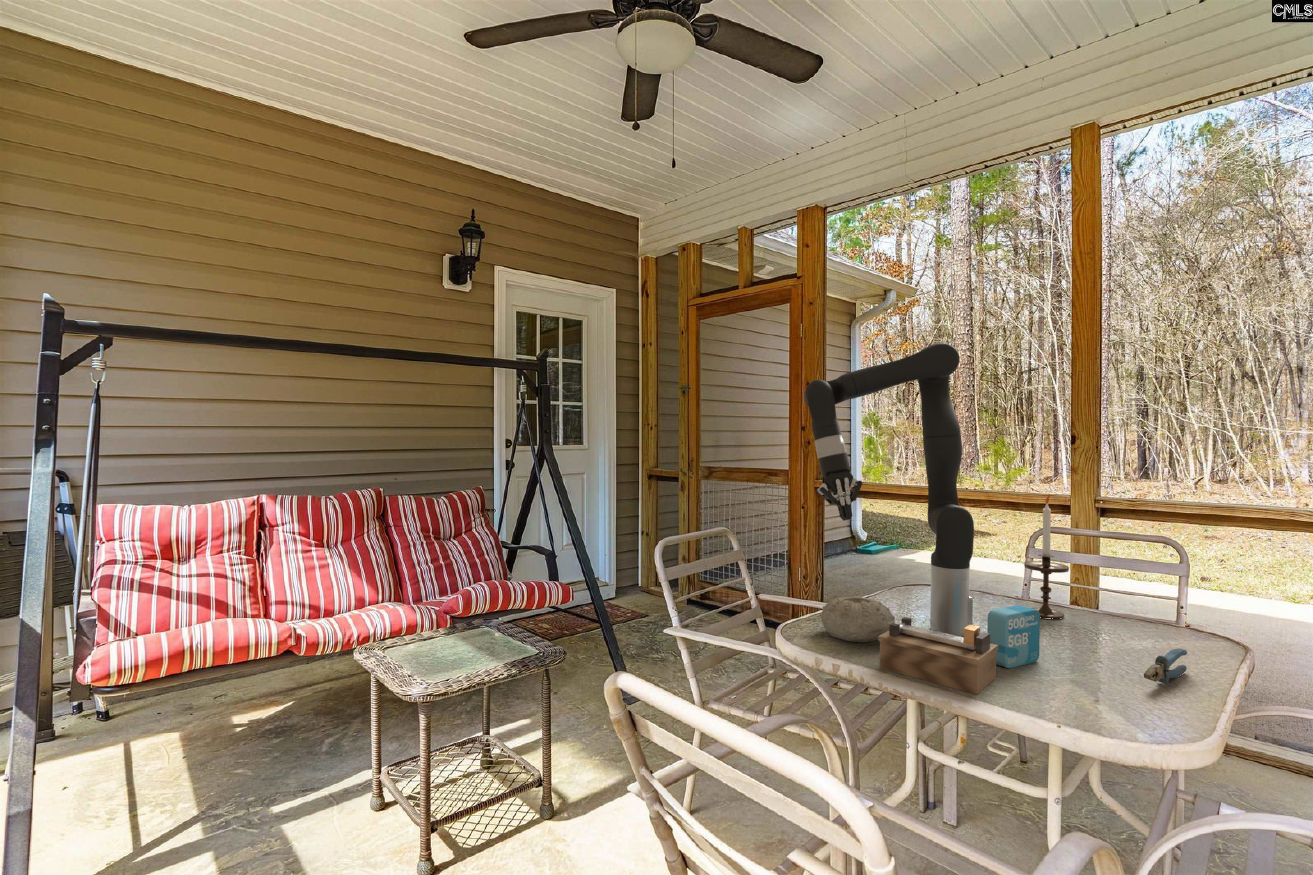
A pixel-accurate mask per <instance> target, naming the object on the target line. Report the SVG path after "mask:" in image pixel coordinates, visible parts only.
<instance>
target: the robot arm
mask: <svg viewBox="0 0 1313 875" xmlns="http://www.w3.org/2000/svg"><path fill="white" fill-rule="evenodd" d="M960 360H961V359H960V353H959V352H958V350H957V348H955V347H954V346H953V345H951V344H949V343H946V342H936V343H932V344H930V345H927V346H925V347H924V348H922V349H921V350H920V351H918V352H916V353H913V354H912V355H908V356H905V357H903V358H899V359H897V360H896V359H895V360H893V361H889V362H885V363H881V364H876V365H872V366H869V367H865V368H861V369H857V370H853V371H849V372H846V373H844V374H841V375H840V376H839V377H837V378H835V379H832V380H831V379H830V380H828V381H826V380H823V379H814V380H812V381H810V382H809V383H808V385H807V386H806V387H805V391H804V393H803V394H804V395H803V399H804V403H805V404H806V406H807V407H808V410H809V414H810V417H811V430H812V434H813V439H814V443H815V451H816V456H817V460H818V466H819V469H820V474H821V476H822V480H821V482H822V484H821V485H820V486H819V487H817V488H816V493H817V494H819V496H821V498H823V499H824V500H825V501H826V502H827V503H828V504H829V505H830V506H836V507H837V509H838V513H839V518H840V519H842V521H849V520H852V517H853V512H852V507H851V503H852V502H855V501H857V498H858V496H859V493H860V490H861V488H862V485H863V481H862V480H857V479H856V478H854V475H853V473H852V472H851V465H850V460H849V457H848V452H847V448H846V443H845V441H844V438H843V436H842V431H841V426H840V424H839V420H838V416H837V410H836V405H838V404H841V403H843V402H845V401H848V400H854V399H857V398H861V397H865V396H869V395H871V394H872V395H873V394H874V393H877V392H881V391H883V390H887V389H889V388H891V387H894V386H898V385H902V384H905V383H909V382H912V381H917V384H918V388H919V393H920V401H921V404H920V406H921V425H922V426H921V427H922V428H921V429H922V430H921V431H922V442H923V443H922V444H923V453H924V454H923V455H924V461H925V471H926V473H925V474H926V480H927V491H928V493H927V494H928V495H927V524H928V526H929V528H930V530H931V531H932V532H933V534H935V535H936V536H935V548H934V551H932V553H931V555H930V603H929V604H930V606H929V607H930V609H929V610H930V611H929V613H930V614H929V617H930V618H929V624H930V625H929V627H930V628H929V630H933V631H938V632H942V633H947V634H951V635H955V636H960V637H964V628H965V627H967V626H968V625H974V623H973V622H974V621H973V618H974V617H973V615H974V614H973V613H974V612H973V610H974V608H973V607H974V606H973V605H974V604H973V603H974V602H973V601H974V598H973V597H972V596H971V595H970V582H971V581H970V576H971V574H970V573H971V572H970V568H971V567H970V566H971V564H970V563H971V560H972V557H973V554H974V543H975V541H974V539H975V537H974V536H975V523H974V522H975V521H974V518H973V516H972V514H971V513H970V511H969V510H968V509H967V508H965V507H963V506H960V501H959V495H958V486H957V484H958V483H957V482H958V476H959V471H960V467H961V462H962V458H963V442H962V441H963V440H962V433H961V426H960V423H959V419H958V416H957V413H956V412H955V409H954V406H953V403H952V400H951V395H950V393H951V392H950V376H951V375H952V374H953V373H954V372H955V371H956V370H957V369H958V367H959V364H960Z"/></svg>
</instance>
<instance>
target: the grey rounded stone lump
mask: <svg viewBox="0 0 1313 875" xmlns="http://www.w3.org/2000/svg"><path fill="white" fill-rule="evenodd" d="M820 620H821V623H822V625H823V628H824V629H825V631H826V632H828V634H829V635H831V637H833V638H836V639H839V640H844V641H848V642H851V643H871V642H872V643H873V641H878V636H879V635H881V634H883V633H885V632H887V631H889V625H890V624H891V623H895V624H896V616H894V615H893V613H892V612H891V610H890V608H889V607H887V606H886V605H885V604H883V603H882V602H880V601H879V600H876V599H874V598H873V599H870V598H868V597H864V596H857V595H856V596H849V597H845V596H844V597H839V596H838V597H835V598H832V599H831V600H829V601H828V602H827V603H826V604H825V605H823V606H822V611H821V614H820Z"/></svg>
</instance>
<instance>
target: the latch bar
mask: <svg viewBox="0 0 1313 875" xmlns="http://www.w3.org/2000/svg"><path fill="white" fill-rule="evenodd" d="M900 632H901V633H905V634H909V635H913V636H917V637H922V638H926V639H930V640H934V641H938V642H942V643H947V644H951V645H955V646H959V647H963V648H967V649H972V650H975V649H976V637H978V636H979V635H980V634H981V626H979V625H974V624H973V625H968V626H967V627H965V628H964V636H955V635H951V634H947V633H942V632H938V631H933V630H931V629H930V628H924V627H920V626H916V625H912V624H911V625H907V624H906V623H902V622H901V623H900Z"/></svg>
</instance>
